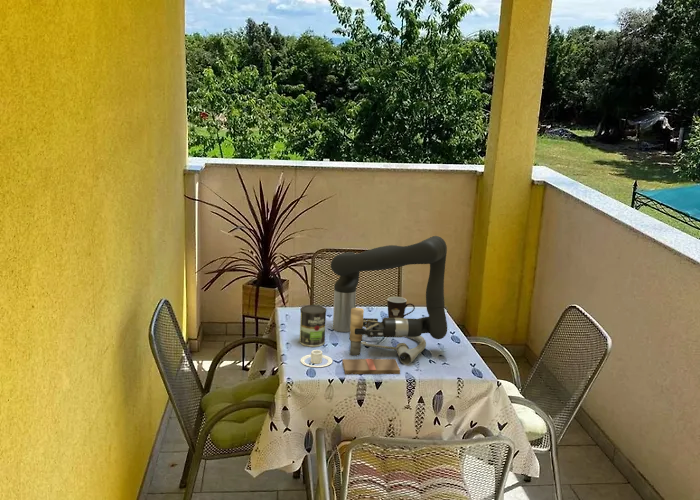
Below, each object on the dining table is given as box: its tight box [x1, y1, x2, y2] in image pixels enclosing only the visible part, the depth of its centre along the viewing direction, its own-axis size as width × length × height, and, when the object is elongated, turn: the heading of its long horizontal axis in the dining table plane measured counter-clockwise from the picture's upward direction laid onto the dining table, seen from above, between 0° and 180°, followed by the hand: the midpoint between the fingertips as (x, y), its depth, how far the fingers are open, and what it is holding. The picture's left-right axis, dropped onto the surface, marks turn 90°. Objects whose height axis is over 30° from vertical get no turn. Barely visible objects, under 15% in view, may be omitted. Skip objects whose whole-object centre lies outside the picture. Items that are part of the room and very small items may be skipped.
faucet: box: [361, 335, 427, 366], centre depth 268 cm, size 5×28×28 cm
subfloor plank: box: [342, 358, 401, 375], centre depth 246 cm, size 20×10×2 cm, turn 97°
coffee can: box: [299, 304, 327, 348], centre depth 267 cm, size 10×10×14 cm
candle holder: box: [300, 349, 333, 368], centre depth 250 cm, size 12×12×4 cm
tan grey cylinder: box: [349, 307, 365, 357], centre depth 257 cm, size 5×5×18 cm
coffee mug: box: [386, 296, 416, 318], centre depth 296 cm, size 12×9×10 cm
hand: (353, 327), depth 257 cm, fingers open, 8 cm apart
